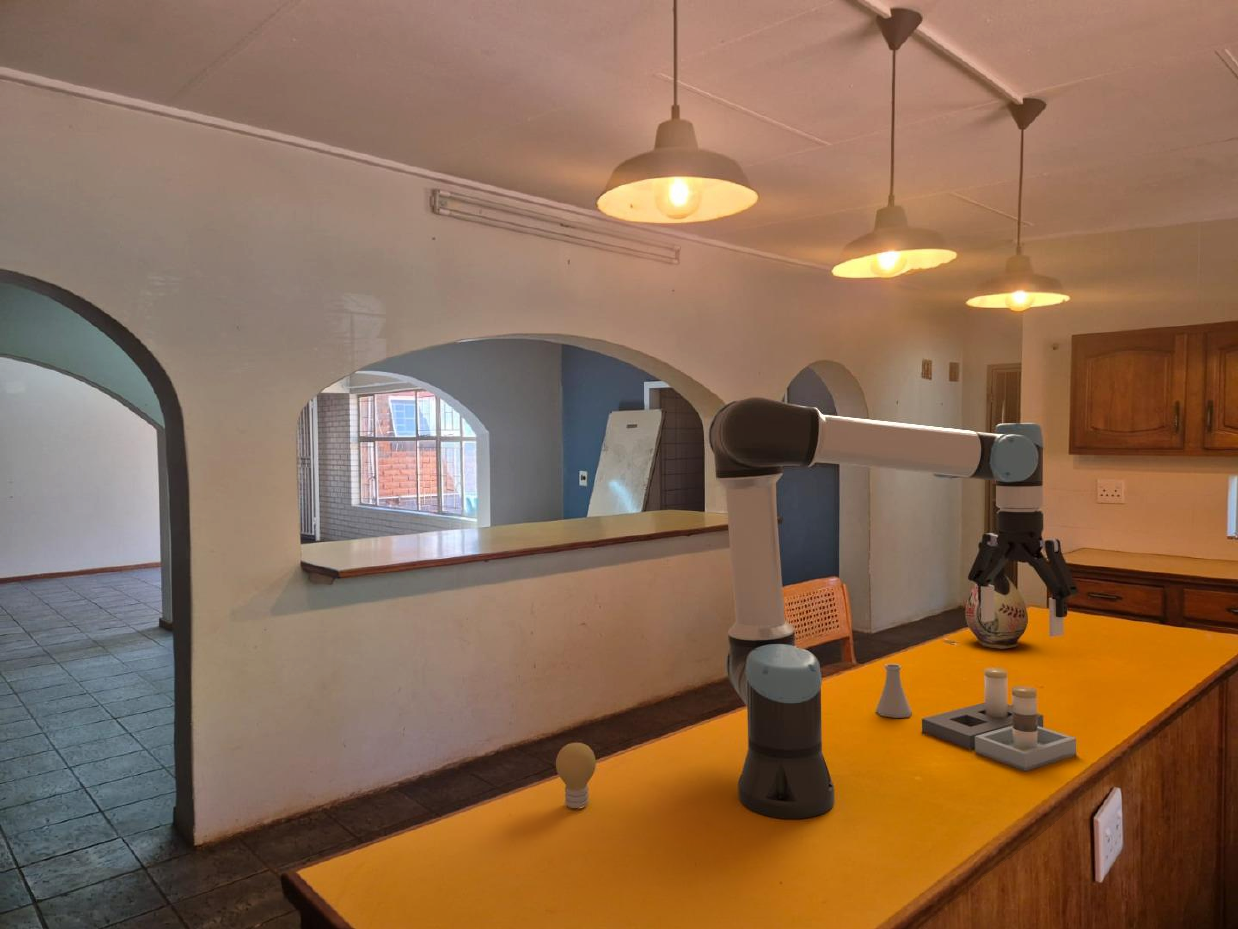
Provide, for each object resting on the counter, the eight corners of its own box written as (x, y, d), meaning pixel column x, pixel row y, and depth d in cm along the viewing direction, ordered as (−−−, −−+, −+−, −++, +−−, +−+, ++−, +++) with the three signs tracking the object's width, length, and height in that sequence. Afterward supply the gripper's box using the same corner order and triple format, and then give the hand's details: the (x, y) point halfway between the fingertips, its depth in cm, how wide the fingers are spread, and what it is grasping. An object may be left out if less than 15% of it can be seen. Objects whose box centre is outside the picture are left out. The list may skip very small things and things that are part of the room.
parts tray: (1025, 771, 139) (1024, 754, 139) (975, 752, 148) (974, 736, 148) (1076, 755, 145) (1076, 738, 145) (1025, 737, 154) (1025, 722, 154)
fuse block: (969, 749, 149) (969, 736, 149) (922, 731, 159) (921, 718, 159) (1043, 728, 159) (1043, 715, 159) (994, 712, 169) (993, 700, 169)
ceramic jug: (958, 638, 231) (957, 532, 230) (1016, 638, 228) (1015, 531, 228) (976, 653, 214) (975, 539, 213) (1039, 654, 212) (1037, 539, 211)
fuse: (998, 730, 158) (997, 674, 158) (980, 724, 162) (980, 669, 161) (1012, 727, 160) (1011, 671, 160) (994, 721, 164) (993, 666, 163)
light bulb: (559, 797, 134) (557, 737, 133) (598, 797, 134) (596, 736, 133) (554, 815, 127) (553, 752, 127) (595, 815, 127) (594, 751, 127)
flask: (914, 720, 166) (913, 671, 165) (877, 718, 167) (876, 670, 167) (909, 708, 173) (908, 661, 172) (874, 707, 174) (873, 660, 174)
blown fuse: (1028, 756, 144) (1027, 694, 144) (1008, 749, 147) (1006, 688, 147) (1042, 751, 146) (1041, 690, 146) (1022, 744, 149) (1021, 685, 149)
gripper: (1101, 512, 136) (1102, 639, 137) (974, 504, 158) (975, 613, 159) (1073, 515, 133) (1074, 645, 133) (947, 506, 155) (948, 617, 155)
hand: (1020, 628), depth 146 cm, fingers open, 13 cm apart
